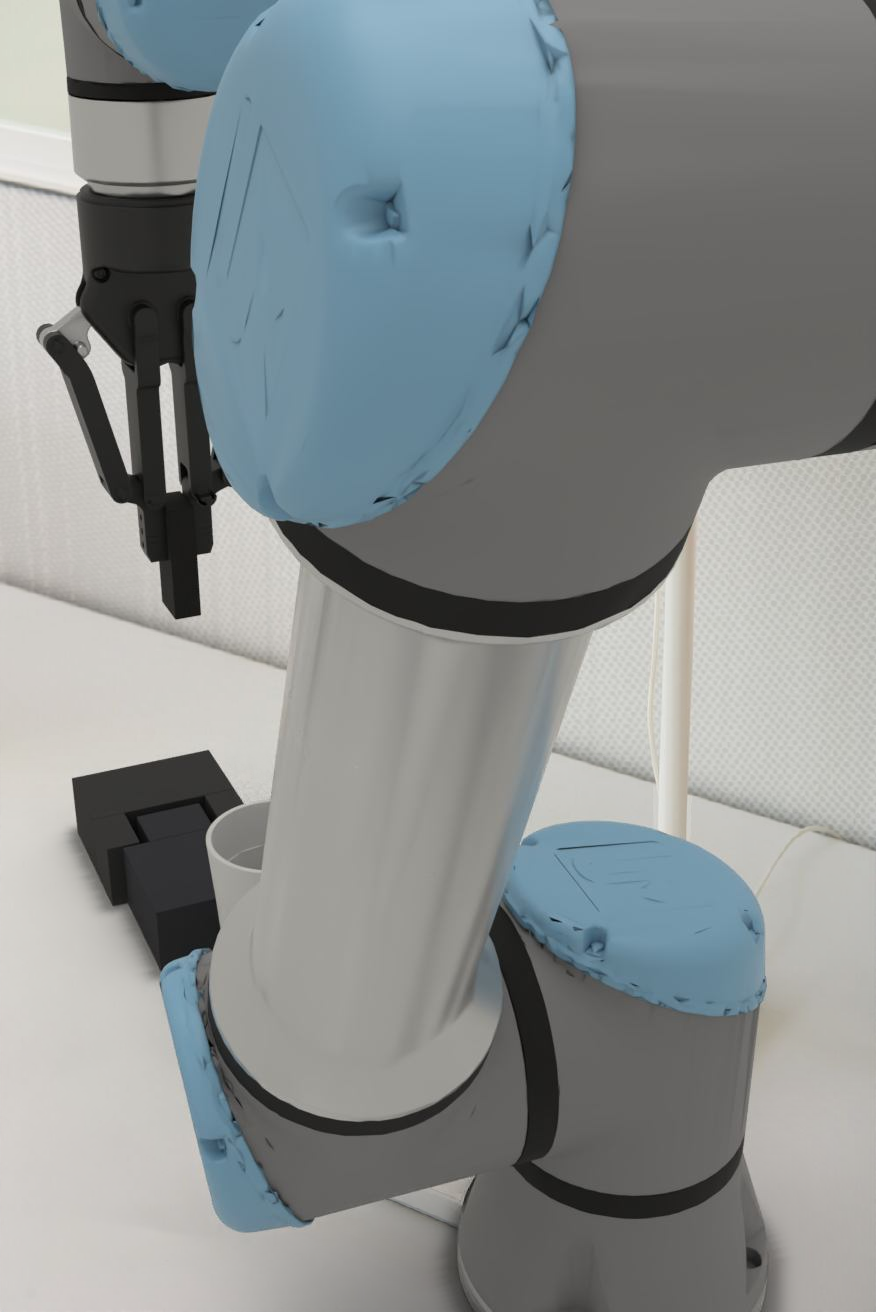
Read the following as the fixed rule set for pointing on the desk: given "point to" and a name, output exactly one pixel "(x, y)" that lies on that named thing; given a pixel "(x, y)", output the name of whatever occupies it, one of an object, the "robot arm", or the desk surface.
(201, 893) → the tab pad
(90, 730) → the desk surface
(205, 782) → the notch pad
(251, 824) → the cup
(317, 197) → the robot arm
